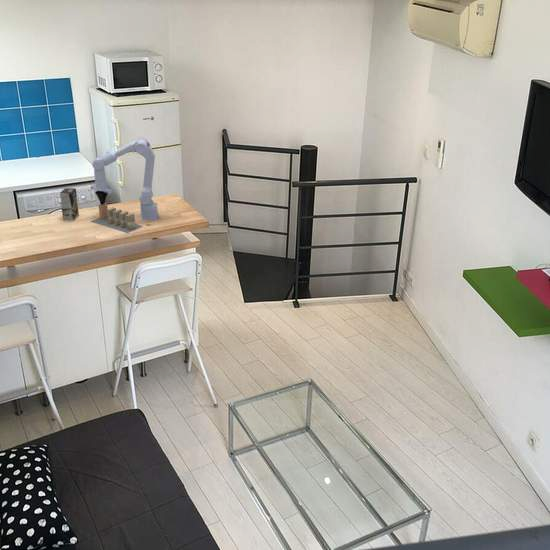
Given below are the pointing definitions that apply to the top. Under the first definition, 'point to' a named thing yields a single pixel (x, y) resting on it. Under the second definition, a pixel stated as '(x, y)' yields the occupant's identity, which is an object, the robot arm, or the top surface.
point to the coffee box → (69, 204)
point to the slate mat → (105, 223)
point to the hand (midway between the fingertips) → (102, 203)
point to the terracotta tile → (103, 210)
